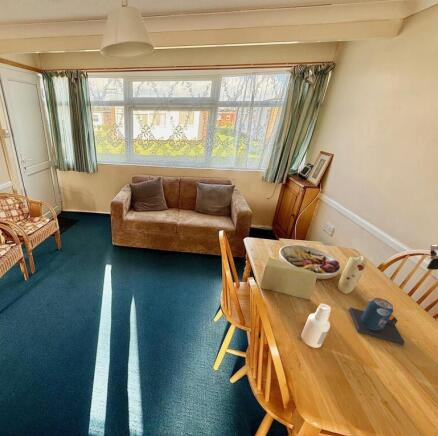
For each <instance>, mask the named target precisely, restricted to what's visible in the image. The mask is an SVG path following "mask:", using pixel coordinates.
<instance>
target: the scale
mask: <svg viewBox="0 0 438 436" xmlns="http://www.w3.org/2000/svg"><path fill="white" fill-rule="evenodd" d="M364 311H365V310H363V309H359V308H355V307H351V306H350V307H349V308H348V312H349V315H350V317H351V320H352V322H353V325H354V328H355V330H356V332H357V333H359V334H361V335H365V336H368V337H372V338H375V339H379V340H382V341H385V342H389V343H392V344H395V345H399V346H404V345H405V344H406V342H405V340H404V338H403V337H402V335H401V334H400V331H399V330H398V328H397V326H396V324H397V323H398V318H397V317H396V316H394V318H393V319H392V320H388V321H387V323H386V324H385V326H384V327H383V329H380V330H373V329H370V328H368V327H367V326H365V325H364V324H363V323H362V320H361V316H362V315H363V313H364Z"/></svg>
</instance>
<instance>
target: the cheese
mask: <svg viewBox="0 0 438 436" xmlns="http://www.w3.org/2000/svg"><path fill="white" fill-rule="evenodd" d="M316 278H317V274H316V273H315V272H313V271H310V270H306V269H303V268H299V267H296V266H293V265H290V264H286V263H284V262H282V261H281V260H280V259H279V260H278V259H276V258H273V257H270V256H268V257H267V258H266V260H265V264H264V269H263V272H262V276H261V279H260V284H259V288H260V289H262V290H267V291H272V292H277V293H280V294H281V293H282V294H285V295H289V296H293V297H297V298H299V299H305V300H311V298H312V297H313V296H312V295H313V294H314V291H315V288H316V283H317V279H316Z"/></svg>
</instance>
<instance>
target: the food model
mask: <svg viewBox="0 0 438 436" xmlns="http://www.w3.org/2000/svg"><path fill="white" fill-rule="evenodd" d="M366 264H367V258H365V257H364V256H363V255H359V254H357V255H355V256H350V257H349V258H348V260H347V263H346V265H345V267H344V269H343V270H342V273H341V276H340V279H339V281H338V284H337V290H339V291H340V292H341V293H342V294H346V295H347V294H351V292H353V291H354V289H355V288H356V287H357V285H358V284H359V281H360V279H361V277H362V275H363V273H364V270H365V268H366Z"/></svg>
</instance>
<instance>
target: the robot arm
mask: <svg viewBox="0 0 438 436" xmlns="http://www.w3.org/2000/svg"><path fill="white" fill-rule="evenodd" d="M429 253H430V259H431V260H430V262H429V263H428V264H427V266H426V269H427V270H433V271H434V270H435V271H437V270H438V245H435V244H434V245H433V244H432V245H430V252H429Z"/></svg>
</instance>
